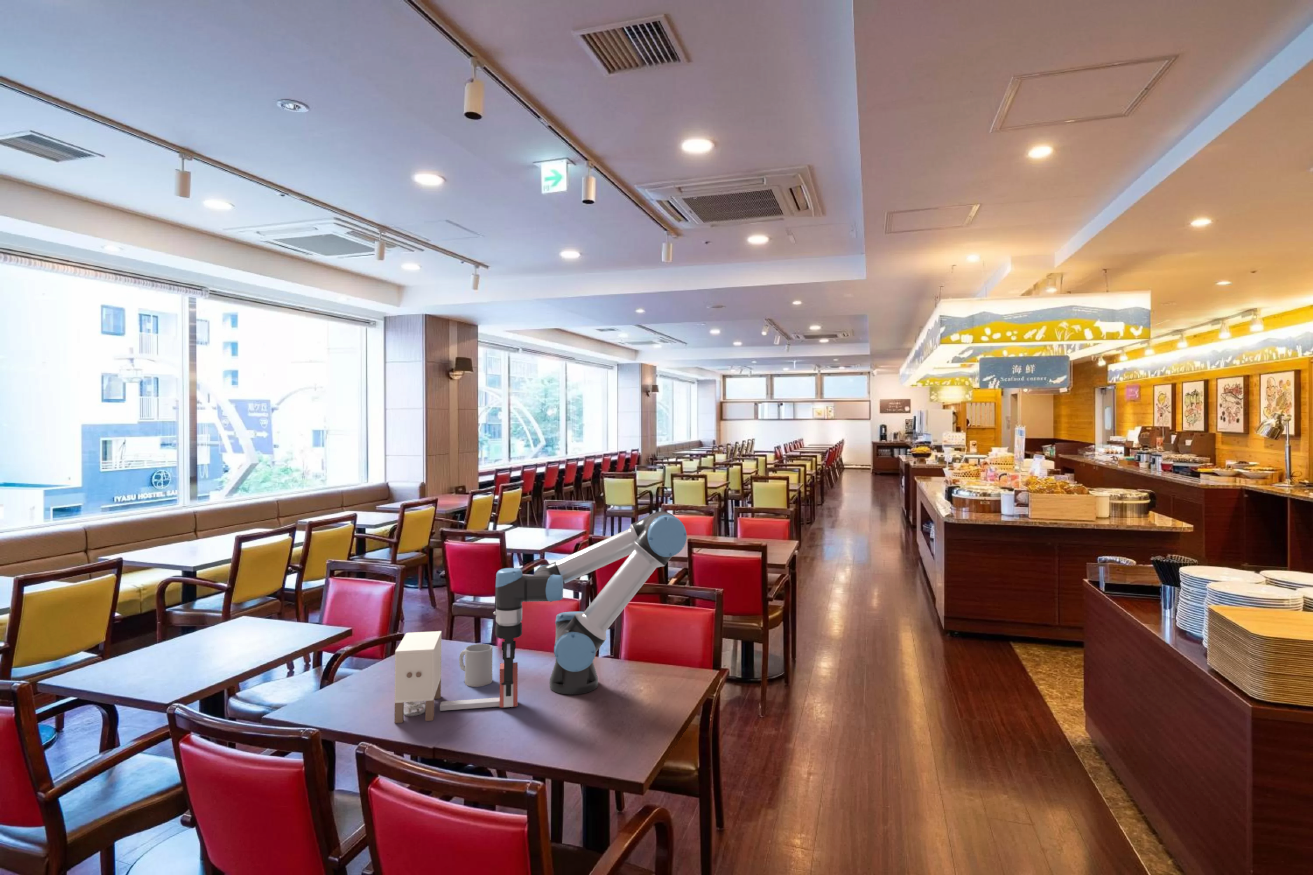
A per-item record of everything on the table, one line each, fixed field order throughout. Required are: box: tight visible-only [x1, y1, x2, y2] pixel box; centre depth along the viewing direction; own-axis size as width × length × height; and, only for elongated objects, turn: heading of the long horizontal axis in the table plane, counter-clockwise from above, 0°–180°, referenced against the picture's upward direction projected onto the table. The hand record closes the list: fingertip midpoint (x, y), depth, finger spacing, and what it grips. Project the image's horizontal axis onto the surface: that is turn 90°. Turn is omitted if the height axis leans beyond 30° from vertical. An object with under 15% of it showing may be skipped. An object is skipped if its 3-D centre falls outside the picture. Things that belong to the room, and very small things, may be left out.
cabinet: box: [394, 630, 442, 724], centre depth 190 cm, size 10×19×20 cm, turn 11°
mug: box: [458, 643, 493, 688], centre depth 213 cm, size 12×8×11 cm
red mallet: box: [439, 661, 519, 712], centre depth 192 cm, size 22×5×11 cm, turn 101°
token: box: [404, 701, 426, 717], centre depth 188 cm, size 6×6×2 cm
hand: (508, 702), depth 194 cm, fingers closed on red mallet, 5 cm apart
